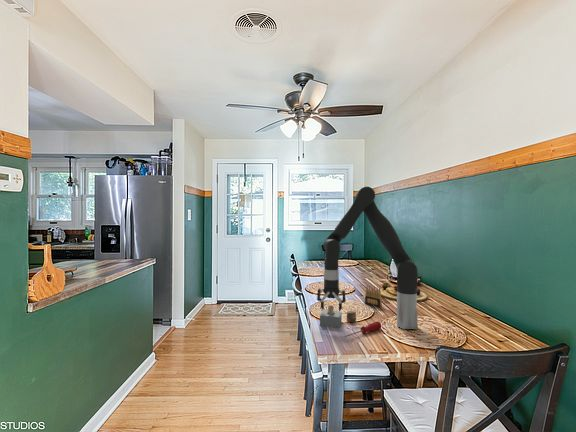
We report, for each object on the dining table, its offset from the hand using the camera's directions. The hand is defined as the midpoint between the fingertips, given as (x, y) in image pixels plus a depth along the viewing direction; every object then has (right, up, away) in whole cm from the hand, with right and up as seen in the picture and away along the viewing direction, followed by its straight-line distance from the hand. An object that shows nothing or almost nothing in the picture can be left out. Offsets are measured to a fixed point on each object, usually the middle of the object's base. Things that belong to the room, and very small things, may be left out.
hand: (331, 309), depth 152 cm
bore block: (0, -7, 0) cm, 7 cm away
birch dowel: (0, -7, 0) cm, 7 cm away
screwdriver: (+13, -7, -14) cm, 20 cm away
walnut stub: (+11, -7, +4) cm, 14 cm away
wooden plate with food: (+58, -9, +57) cm, 82 cm away
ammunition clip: (+31, -8, +33) cm, 45 cm away
